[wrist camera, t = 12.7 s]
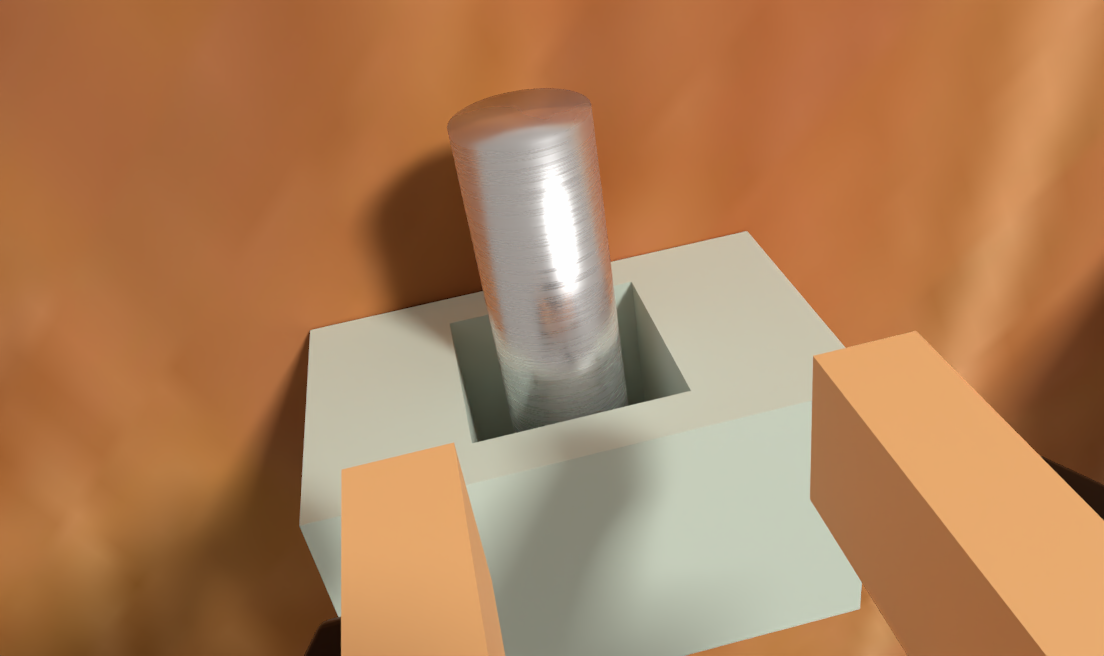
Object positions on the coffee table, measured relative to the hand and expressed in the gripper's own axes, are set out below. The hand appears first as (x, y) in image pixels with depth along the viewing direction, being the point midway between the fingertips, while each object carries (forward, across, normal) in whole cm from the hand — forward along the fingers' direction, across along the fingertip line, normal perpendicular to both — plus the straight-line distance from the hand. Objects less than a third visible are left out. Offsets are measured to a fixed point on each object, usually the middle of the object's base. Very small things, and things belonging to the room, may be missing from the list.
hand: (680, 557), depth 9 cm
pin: (+10, 0, +4) cm, 11 cm away
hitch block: (+11, 0, +6) cm, 13 cm away
